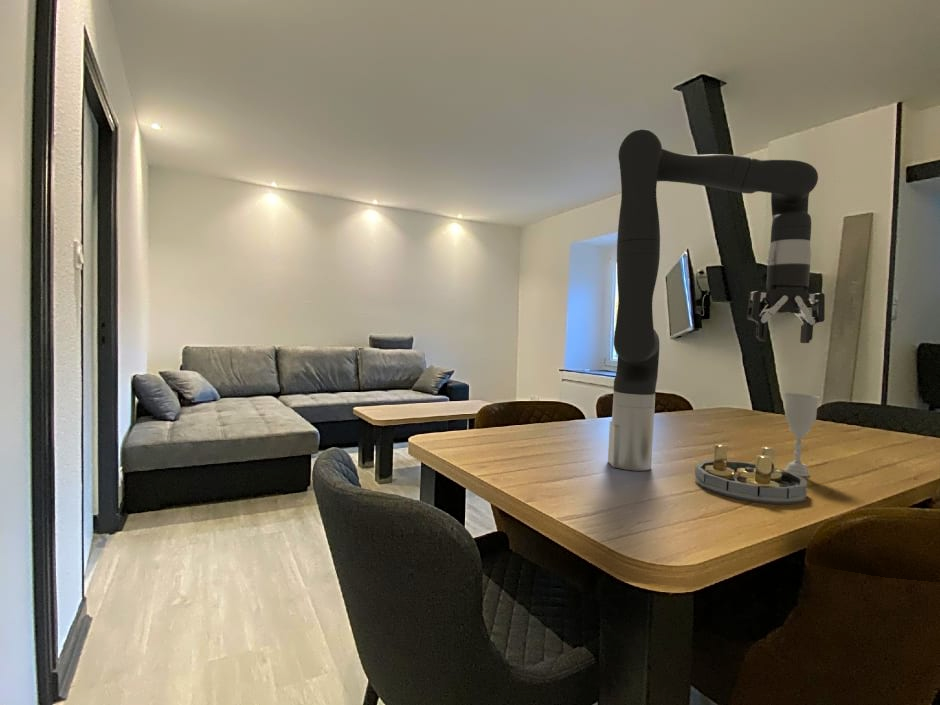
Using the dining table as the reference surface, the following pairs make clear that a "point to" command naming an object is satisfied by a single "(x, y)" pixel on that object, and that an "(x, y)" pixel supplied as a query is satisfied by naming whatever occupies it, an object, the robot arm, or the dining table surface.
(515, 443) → the dining table surface
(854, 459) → the dining table surface
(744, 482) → the carrier
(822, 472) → the dining table surface
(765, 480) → the planet gear
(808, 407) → the chalice
